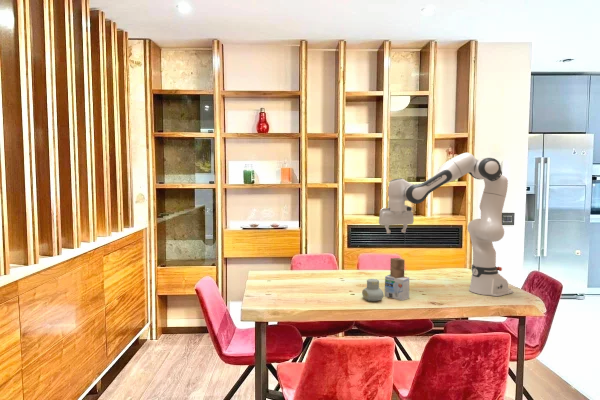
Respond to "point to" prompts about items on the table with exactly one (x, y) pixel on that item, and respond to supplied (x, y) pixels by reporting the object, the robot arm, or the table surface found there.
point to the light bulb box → (397, 287)
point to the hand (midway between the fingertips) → (396, 232)
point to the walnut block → (397, 268)
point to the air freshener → (372, 291)
